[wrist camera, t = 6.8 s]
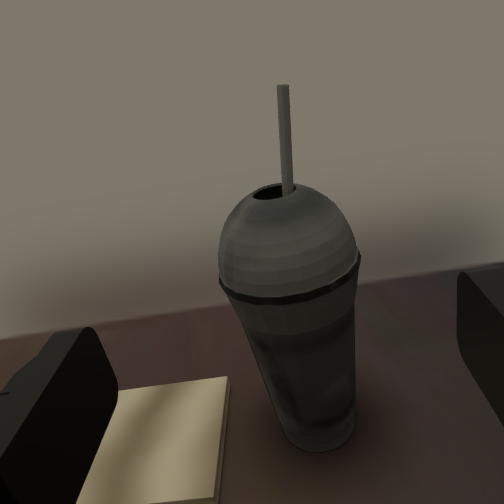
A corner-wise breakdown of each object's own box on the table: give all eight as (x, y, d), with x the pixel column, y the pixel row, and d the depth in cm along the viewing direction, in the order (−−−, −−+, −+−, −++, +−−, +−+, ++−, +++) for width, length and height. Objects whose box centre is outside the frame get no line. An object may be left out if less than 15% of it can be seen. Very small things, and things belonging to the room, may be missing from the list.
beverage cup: (268, 380, 31) (196, 93, 22) (372, 376, 29) (339, 64, 20) (253, 473, 25) (144, 123, 16) (385, 474, 23) (345, 84, 14)
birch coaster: (230, 386, 31) (227, 376, 31) (217, 508, 23) (213, 496, 23) (101, 403, 32) (96, 393, 32) (47, 525, 24) (40, 514, 24)
